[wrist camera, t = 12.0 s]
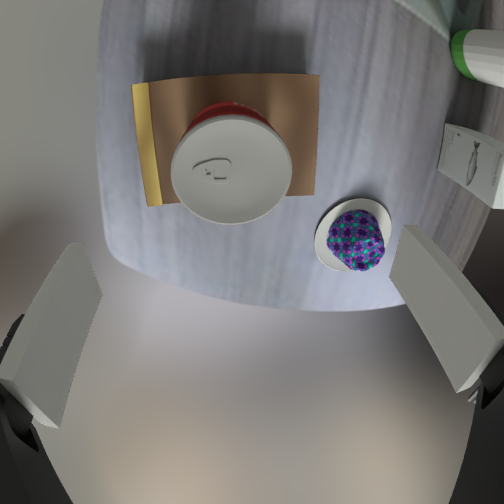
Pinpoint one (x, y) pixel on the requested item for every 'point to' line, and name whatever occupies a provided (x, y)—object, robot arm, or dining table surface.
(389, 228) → the pudding
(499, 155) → the supplement box
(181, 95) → the wooden block
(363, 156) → the dining table surface
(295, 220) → the dining table surface
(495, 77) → the wine bottle
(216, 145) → the canned food
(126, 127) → the dining table surface
